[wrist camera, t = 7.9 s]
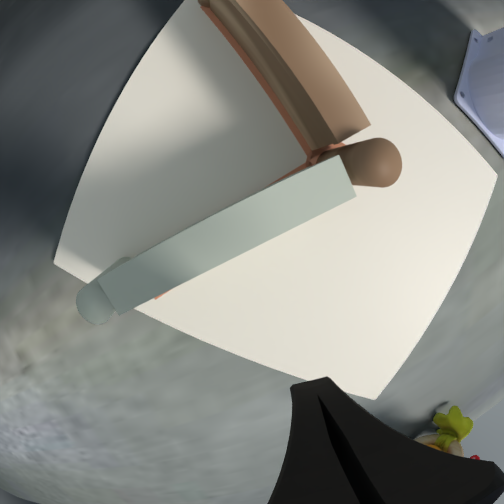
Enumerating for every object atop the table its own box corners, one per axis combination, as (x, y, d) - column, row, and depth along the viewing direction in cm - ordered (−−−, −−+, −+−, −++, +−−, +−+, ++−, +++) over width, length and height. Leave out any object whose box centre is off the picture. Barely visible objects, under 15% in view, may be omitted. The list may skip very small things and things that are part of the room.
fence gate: (319, 191, 16) (356, 196, 11) (123, 291, 17) (90, 329, 12) (306, 161, 16) (339, 154, 11) (108, 265, 16) (69, 296, 11)
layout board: (203, -18, 13) (202, -22, 13) (494, 175, 18) (498, 175, 17) (56, 261, 17) (53, 263, 16) (373, 397, 21) (375, 400, 21)
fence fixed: (218, -16, 13) (217, -75, 7) (353, 173, 17) (409, 173, 11) (190, -4, 13) (179, -61, 7) (326, 190, 17) (374, 196, 11)
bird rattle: (396, 444, 27) (467, 430, 23) (391, 524, 17) (477, 506, 13) (397, 414, 25) (475, 396, 22) (394, 505, 15) (494, 482, 12)
